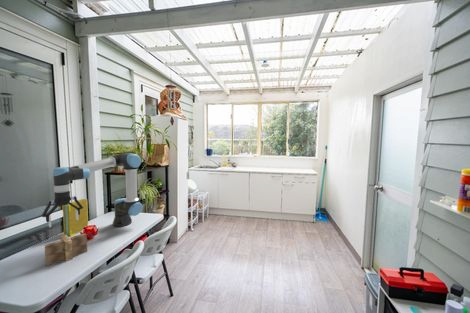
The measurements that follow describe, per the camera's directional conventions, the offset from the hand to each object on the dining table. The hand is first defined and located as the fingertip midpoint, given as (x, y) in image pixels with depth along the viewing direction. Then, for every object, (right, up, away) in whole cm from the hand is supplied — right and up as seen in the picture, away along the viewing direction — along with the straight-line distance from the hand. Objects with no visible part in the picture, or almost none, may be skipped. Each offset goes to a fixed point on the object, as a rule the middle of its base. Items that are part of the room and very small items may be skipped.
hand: (64, 223), depth 127 cm
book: (-19, -19, +34) cm, 43 cm away
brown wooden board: (+4, -21, -3) cm, 22 cm away
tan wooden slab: (+3, -21, -1) cm, 21 cm away
